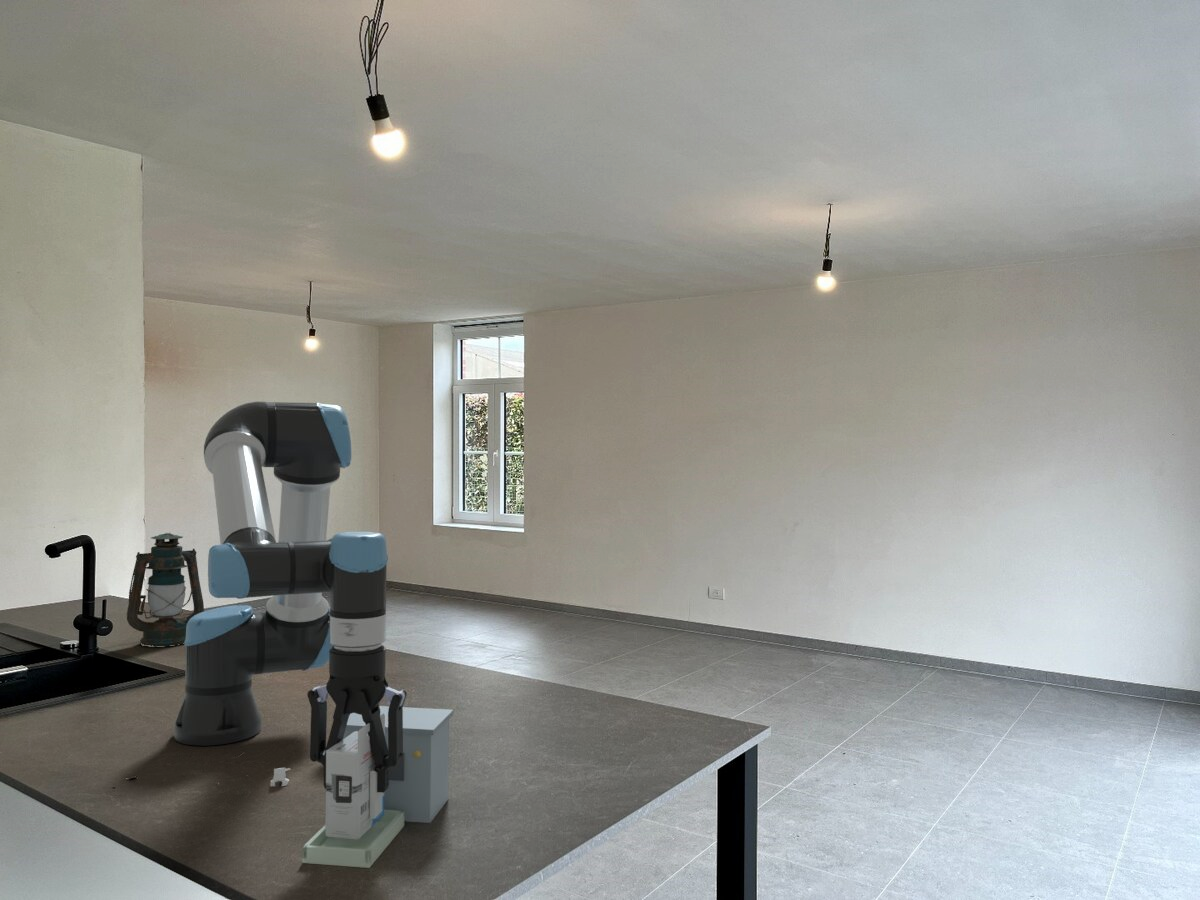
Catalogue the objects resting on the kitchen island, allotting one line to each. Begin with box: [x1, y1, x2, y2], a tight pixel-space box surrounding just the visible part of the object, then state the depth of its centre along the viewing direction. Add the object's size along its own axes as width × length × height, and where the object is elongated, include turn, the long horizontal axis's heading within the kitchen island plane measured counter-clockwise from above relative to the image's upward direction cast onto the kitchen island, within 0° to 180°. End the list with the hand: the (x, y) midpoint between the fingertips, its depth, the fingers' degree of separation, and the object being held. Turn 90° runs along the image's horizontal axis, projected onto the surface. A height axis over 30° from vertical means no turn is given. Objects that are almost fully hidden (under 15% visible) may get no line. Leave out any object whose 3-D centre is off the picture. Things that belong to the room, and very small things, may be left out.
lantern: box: [126, 532, 205, 646], centre depth 246 cm, size 19×14×30 cm
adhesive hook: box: [270, 767, 291, 787], centre depth 146 cm, size 3×3×3 cm
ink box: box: [325, 713, 385, 840], centre depth 124 cm, size 9×5×15 cm, turn 168°
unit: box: [343, 705, 454, 824], centre depth 137 cm, size 15×10×14 cm, turn 83°
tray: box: [301, 810, 405, 869], centre depth 125 cm, size 9×13×2 cm
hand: (355, 812), depth 125 cm, fingers closed on ink box, 5 cm apart
